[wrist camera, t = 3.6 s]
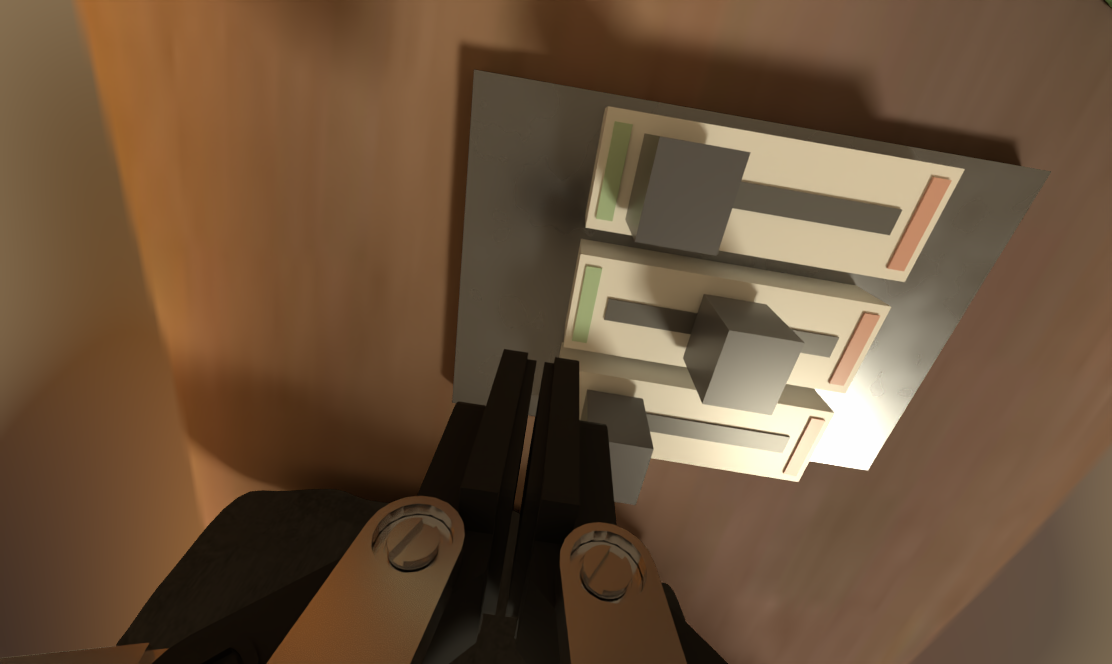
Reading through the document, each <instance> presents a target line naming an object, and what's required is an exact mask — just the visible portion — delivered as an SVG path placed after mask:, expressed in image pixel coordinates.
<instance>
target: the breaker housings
mask: <svg viewBox="0 0 1112 664" xmlns="http://www.w3.org/2000/svg"><path fill="white" fill-rule="evenodd" d="M644 133H646V134H651V135H657V136H663V137H668V138H674V139H680V140H685V141H691V142H697V143H703V144H708V145H714V146H719V147H725V148H730V149H735V150H741V151H746V152H751V153H750V156H749V159H748V162H747V165H746V168H745V171H744V174H743V177H742V180H741V183H740V186H739V189H738V192H737V196H736V199H735V202H734V205H733V208H732V211H731V214H730V217H729V220H728V223H727V226H726V229H725V232H724V235H723V238H722V242H721V245H720V248H719V251H725V252H731V253H737V254H743V255H749V256H754V257H760V258H766V259H772V260H778V261H784V262H789V263H795V264H801V265H807V266H813V267H819V268H825V269H830V270H836V271H842V272H848V273H854V274H860V275H866V276H871V277H877V278H883V279H889V280H895V281H901V282H905V281H906V279H907V277H908V275H909V273H910V271H911V269H912V268H913V266H914V264H915V262H916V260H917V258H918V256H919V254H920V253H921V251H922V249H923V247H924V245H925V243H926V241H927V239H928V238H929V236H930V234H931V232H932V230H933V228H934V226H935V224H936V223H937V221H938V219H939V217H940V215H941V213H942V211H943V209H944V208H945V206H946V204H947V202H948V200H949V198H950V196H951V194H952V193H953V191H954V189H955V187H956V185H957V183H958V181H959V179H960V177H961V176H962V174H963V172H964V170H965V169H962V168H956V167H950V166H945V165H939V164H933V163H928V162H922V161H916V160H911V159H905V158H899V157H894V156H888V155H882V154H877V153H871V152H865V151H860V150H854V149H848V148H843V147H837V146H831V145H825V144H820V143H814V142H808V141H803V140H797V139H791V138H786V137H780V136H774V135H769V134H763V133H757V132H752V131H746V130H740V129H735V128H729V127H723V126H718V125H712V124H706V123H701V122H695V121H689V120H684V119H678V118H672V117H667V116H661V115H655V114H650V113H644V112H638V111H633V110H627V109H621V108H615V107H610V106H608V107H606V108H605V111H604V116H603V122H602V127H601V133H600V138H599V143H598V149H597V154H596V160H595V165H594V171H593V176H592V181H591V187H590V192H589V198H588V203H587V209H586V214H585V223H586V228H591V229H597V230H602V231H608V232H614V233H620V234H626V235H632V234H631V232H630V230H629V227H628V225H627V223H626V220H625V218H626V214H627V209H628V205H629V200H630V196H631V191H632V187H633V182H634V178H635V173H636V169H637V165H638V160H639V156H640V151H641V147H642V142H643V138H644ZM704 294H708V295H714V296H720V297H726V298H732V299H738V300H744V301H750V302H756V303H762V304H767V305H768V306H769V307H770V308H771V309H772V310H773V311H774V312H775V313H776V314H777V315H778V316H779V317H780V318H781V319H782V320H783V321H784V322H785V323H786V324H787V325H788V326H789V327H790V328H791V329H792V330H793V331H794V332H795V333H796V334H797V335H798V336H799V337H800V338H801V339H802V340H803V341H804V342H805V344H804V346H803V348H802V350H801V353H800V355H799V357H798V359H797V361H796V363H795V366H794V368H793V370H792V372H791V374H790V377H789V379H788V381H787V383H786V385H785V388H784V390H783V392H782V394H781V396H780V398H779V401H778V403H777V405H776V407H775V409H774V412H773V414H772V415H766V414H760V413H754V412H748V411H742V410H736V409H730V408H724V407H717V406H711V405H705V404H702V402H701V400H700V398H699V395H698V393H697V390H696V388H695V386H694V383H693V381H692V379H691V376H690V374H689V371H688V369H687V367H686V364H685V362H684V360H683V356H684V353H685V350H686V347H687V344H688V341H689V338H690V335H691V332H692V329H693V325H694V322H695V319H696V316H697V313H698V310H699V307H700V304H701V301H702V298H703V295H704ZM890 309H891V306H889V305H888V304H886V303H884V302H883V301H881V300H879V299H878V298H876V297H874V296H873V295H871V294H869V293H868V292H866V291H865V290H863V289H861V288H860V287H858V286H856V285H850V284H844V283H838V282H832V281H826V280H821V279H815V278H809V277H803V276H797V275H791V274H785V273H780V272H774V271H768V270H762V269H756V268H750V267H744V266H739V265H733V264H727V263H721V262H715V261H709V260H703V259H697V258H692V257H686V256H680V255H674V254H668V253H662V252H656V251H651V250H645V249H639V248H633V247H627V246H621V245H615V244H610V243H604V242H598V241H592V240H586V239H581V241H580V247H579V252H578V257H577V263H576V268H575V274H574V279H573V285H572V290H571V295H570V301H569V306H568V312H567V317H566V323H565V334H564V342H562V344H561V350H560V355H559V358H565V359H571V360H577V361H579V420H580V419H581V414H582V410H583V405H584V401H585V396H586V392H587V389H588V390H594V391H600V392H606V393H612V394H618V395H624V396H630V397H637V398H643V401H644V406H645V411H646V415H647V420H648V425H649V429H650V434H651V439H652V443H653V448H654V450H653V453H652V456H651V458H654V459H660V460H666V461H672V462H679V463H685V464H691V465H697V466H703V467H710V468H716V469H722V470H728V471H734V472H740V473H747V474H753V475H759V476H765V477H771V478H777V479H784V480H790V481H796V482H798V481H799V480H800V478H801V476H802V474H803V472H804V470H805V468H806V466H807V465H808V463H809V461H810V459H811V457H812V455H813V453H814V451H815V450H816V448H817V446H818V444H819V442H820V440H821V438H822V436H823V435H824V433H825V431H826V429H827V427H828V425H829V423H830V421H831V420H832V418H833V416H834V414H835V412H834V411H833V410H832V409H831V408H830V407H829V405H828V404H827V403H826V402H825V401H824V400H823V398H822V397H821V396H820V395H819V394H818V393H817V392H816V390H815V389H820V390H826V391H832V392H838V393H844V394H845V393H846V391H847V390H848V388H849V386H850V384H851V382H852V380H853V378H854V376H855V375H856V373H857V371H858V369H859V367H860V365H861V363H862V361H863V360H864V358H865V356H866V354H867V352H868V350H869V348H870V346H871V344H872V343H873V341H874V339H875V337H876V335H877V333H878V331H879V329H880V328H881V326H882V324H883V322H884V320H885V318H886V316H887V314H888V313H889V311H890Z"/></svg>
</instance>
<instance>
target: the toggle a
mask: <svg viewBox="0 0 1112 664" xmlns="http://www.w3.org/2000/svg"><path fill="white" fill-rule="evenodd" d="M580 420H582V421H588V422H594V423H601V424H606V425H607V429H608V437H609V448H610V460H611V471H612V482H613V493H614V502H619V503H625V504H632V505H636V502H637V499H638V496H639V493H640V490H641V487H642V484H643V481H644V477H645V474H646V471H647V468H648V465H649V462H650V459H651V456H652V453H653V450H654V448H653V443H652V439H651V434H650V429H649V425H648V420H647V415H646V411H645V406H644V401H643V398H637V397H630V396H624V395H618V394H612V393H606V392H600V391H594V390H588V389H587V392H586V396H585V401H584V405H583V410H582V414H581V419H580Z"/></svg>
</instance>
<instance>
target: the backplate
mask: <svg viewBox="0 0 1112 664" xmlns="http://www.w3.org/2000/svg"><path fill="white" fill-rule="evenodd" d="M608 106H610V107H615V108H621V109H627V110H633V111H638V112H644V113H650V114H655V115H661V116H667V117H672V118H678V119H684V120H689V121H695V122H701V123H706V124H712V125H718V126H723V127H729V128H735V129H740V130H746V131H752V132H757V133H763V134H769V135H774V136H780V137H786V138H791V139H797V140H803V141H808V142H814V143H820V144H825V145H831V146H837V147H843V148H848V149H854V150H860V151H865V152H871V153H877V154H882V155H888V156H894V157H899V158H905V159H911V160H916V161H922V162H928V163H933V164H939V165H945V166H950V167H956V168H962V169H965V170H964V172H963V174H962V176H961V177H960V179H959V181H958V183H957V185H956V187H955V189H954V191H953V193H952V194H951V196H950V198H949V200H948V202H947V204H946V206H945V208H944V209H943V211H942V213H941V215H940V217H939V219H938V221H937V223H936V224H935V226H934V228H933V230H932V232H931V234H930V236H929V238H928V239H927V241H926V243H925V245H924V247H923V249H922V251H921V253H920V254H919V256H918V258H917V260H916V262H915V264H914V266H913V268H912V269H911V271H910V273H909V275H908V277H907V279H906V281H905V282H901V281H895V280H889V279H883V278H877V277H871V276H866V275H860V274H854V273H848V272H842V271H836V270H830V269H825V268H819V267H813V266H807V265H801V264H795V263H789V262H784V261H778V260H772V259H766V258H760V257H754V256H749V255H743V254H737V253H731V252H725V251H718V254H717V256H714V255H708V254H703V253H697V252H691V251H685V250H679V249H673V248H667V247H662V246H656V245H650V244H644V243H638V242H635V241H634V239H633V237H632V235H626V234H620V233H614V232H608V231H602V230H597V229H591V228H586V223H585V214H586V209H587V203H588V198H589V192H590V187H591V181H592V176H593V171H594V165H595V160H596V154H597V149H598V143H599V138H600V133H601V127H602V122H603V116H604V111H605V108H606V107H608ZM1050 173H1051V171H1045V170H1040V169H1034V168H1028V167H1023V166H1017V165H1011V164H1006V163H1000V162H994V161H989V160H983V159H977V158H972V157H966V156H960V155H955V154H949V153H943V152H938V151H932V150H926V149H921V148H915V147H909V146H904V145H898V144H892V143H887V142H881V141H875V140H870V139H864V138H858V137H853V136H847V135H842V134H836V133H830V132H825V131H819V130H813V129H808V128H802V127H796V126H791V125H785V124H779V123H774V122H768V121H762V120H757V119H751V118H745V117H740V116H734V115H728V114H723V113H717V112H711V111H706V110H700V109H694V108H689V107H683V106H677V105H672V104H666V103H660V102H655V101H649V100H643V99H638V98H632V97H627V96H621V95H615V94H610V93H604V92H598V91H593V90H587V89H581V88H576V87H570V86H564V85H559V84H553V83H547V82H542V81H536V80H530V79H525V78H519V77H513V76H508V75H502V74H496V73H491V72H485V71H479V70H474V79H473V94H472V109H471V125H470V140H469V155H468V170H467V186H466V201H465V216H464V232H463V247H462V262H461V277H460V293H459V308H458V323H457V338H456V354H455V369H454V384H453V400H452V403H457V402H458V401H460V402H466V403H473V404H479V405H485V406H486V404H487V401H488V398H489V395H490V392H491V388H492V385H493V382H494V379H495V376H496V372H497V369H498V366H499V363H500V360H501V357H502V353H503V350H504V349H509V350H515V351H521V352H527V353H528V359H530V360H537V363H536V369H535V375H534V382H533V388H532V394H531V401H530V407H529V413H528V415H531V416H536V410H537V404H538V398H539V392H540V386H541V380H542V374H543V368H544V362H549V363H554V359H555V357H559V355H560V350H561V344H562V342H564V334H565V323H566V317H567V312H568V306H569V301H570V295H571V290H572V285H573V279H574V274H575V268H576V263H577V257H578V252H579V247H580V241H581V239H586V240H592V241H598V242H604V243H610V244H615V245H621V246H627V247H633V248H639V249H645V250H651V251H656V252H662V253H668V254H674V255H680V256H686V257H692V258H697V259H703V260H709V261H715V262H721V263H727V264H733V265H739V266H744V267H750V268H756V269H762V270H768V271H774V272H780V273H785V274H791V275H797V276H803V277H809V278H815V279H821V280H826V281H832V282H838V283H844V284H850V285H856V286H858V287H860V288H861V289H863V290H865V291H866V292H868V293H869V294H871V295H873V296H874V297H876V298H878V299H879V300H881V301H883V302H884V303H886V304H888V305H889V306H891V309H890V311H889V313H888V314H887V316H886V318H885V320H884V322H883V324H882V326H881V328H880V329H879V331H878V333H877V335H876V337H875V339H874V341H873V343H872V344H871V346H870V348H869V350H868V352H867V354H866V356H865V358H864V360H863V361H862V363H861V365H860V367H859V369H858V371H857V373H856V375H855V376H854V378H853V380H852V382H851V384H850V386H849V388H848V390H847V391H846V393H845V394H844V393H838V392H832V391H826V390H820V389H815V390H816V392H817V393H818V394H819V395H820V396H821V397H822V398H823V400H824V401H825V402H826V403H827V404H828V405H829V407H830V408H831V409H832V410H833V411H834V412H835V414H834V416H833V418H832V420H831V421H830V423H829V425H828V427H827V429H826V431H825V433H824V435H823V436H822V438H821V440H820V442H819V444H818V446H817V448H816V450H815V451H814V453H813V455H812V457H811V459H810V461H814V462H820V463H826V464H832V465H838V466H844V467H850V468H857V469H863V470H868V469H869V467H870V465H871V464H872V462H873V460H874V459H875V457H876V456H877V454H878V452H879V451H880V449H881V447H882V446H883V444H884V443H885V441H886V439H887V438H888V436H889V434H890V433H891V431H892V430H893V428H894V426H895V425H896V423H897V421H898V420H899V418H900V417H901V415H902V413H903V412H904V410H905V408H906V407H907V405H908V404H909V402H910V400H911V399H912V397H913V395H914V394H915V392H916V391H917V389H918V387H919V386H920V384H921V382H922V381H923V379H924V378H925V376H926V374H927V373H928V371H929V369H930V368H931V366H932V365H933V363H934V361H935V360H936V358H937V356H938V355H939V353H940V352H941V350H942V348H943V347H944V345H945V343H946V342H947V340H948V339H949V337H950V335H951V334H952V332H953V330H954V329H955V327H956V326H957V324H958V322H959V321H960V319H961V317H962V316H963V314H964V313H965V311H966V309H967V308H968V306H969V304H970V303H971V301H972V300H973V298H974V296H975V295H976V293H977V292H978V290H979V288H980V287H981V285H982V283H983V282H984V280H985V279H986V277H987V275H988V274H989V272H990V270H991V269H992V267H993V266H994V264H995V262H996V261H997V259H998V257H999V256H1000V254H1001V253H1002V251H1003V249H1004V248H1005V246H1006V244H1007V243H1008V241H1009V240H1010V238H1011V236H1012V235H1013V233H1014V231H1015V230H1016V228H1017V227H1018V225H1019V223H1020V222H1021V220H1022V218H1023V217H1024V215H1025V214H1026V212H1027V210H1028V209H1029V207H1030V205H1031V204H1032V202H1033V201H1034V199H1035V197H1036V196H1037V194H1038V192H1039V191H1040V189H1041V188H1042V186H1043V184H1044V183H1045V181H1046V179H1047V178H1048V176H1049V175H1050Z"/></svg>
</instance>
